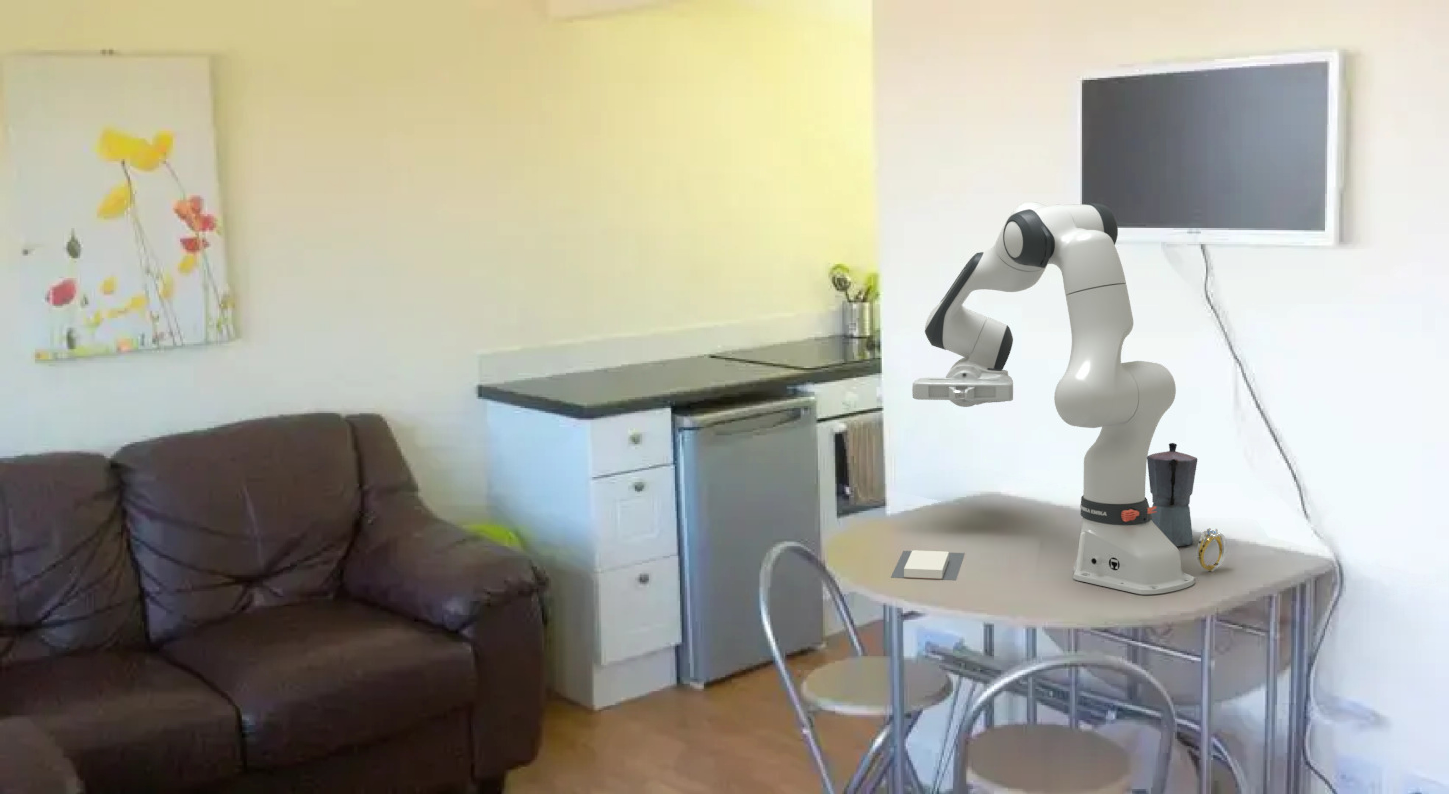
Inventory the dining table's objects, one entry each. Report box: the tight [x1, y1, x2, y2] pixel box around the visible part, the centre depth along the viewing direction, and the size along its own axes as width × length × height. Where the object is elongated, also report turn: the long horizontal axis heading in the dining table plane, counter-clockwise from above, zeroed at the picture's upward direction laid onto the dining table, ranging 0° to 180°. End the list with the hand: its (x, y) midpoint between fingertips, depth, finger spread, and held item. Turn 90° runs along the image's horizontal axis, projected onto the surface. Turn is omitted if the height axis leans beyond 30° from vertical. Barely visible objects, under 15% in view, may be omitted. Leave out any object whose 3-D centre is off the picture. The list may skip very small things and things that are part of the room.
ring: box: [1196, 527, 1227, 572], centre depth 283 cm, size 7×3×8 cm, turn 119°
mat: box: [890, 550, 966, 581], centre depth 291 cm, size 19×12×1 cm, turn 166°
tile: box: [904, 549, 950, 580], centre depth 288 cm, size 2×7×13 cm
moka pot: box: [1146, 442, 1198, 547], centre depth 302 cm, size 10×15×20 cm, turn 170°
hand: (959, 395), depth 304 cm, fingers closed
